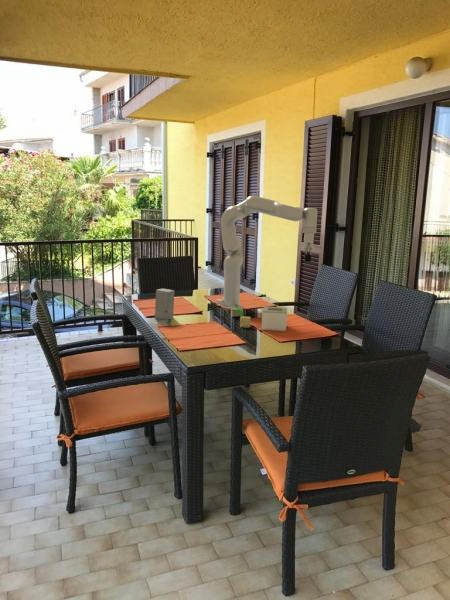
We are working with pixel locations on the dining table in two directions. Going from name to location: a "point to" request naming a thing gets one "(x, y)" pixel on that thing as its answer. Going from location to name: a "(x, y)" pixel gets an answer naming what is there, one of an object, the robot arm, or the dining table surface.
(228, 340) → the dining table surface
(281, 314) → the box
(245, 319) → the tan wooden block
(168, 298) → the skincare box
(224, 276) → the robot arm
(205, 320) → the dining table surface
